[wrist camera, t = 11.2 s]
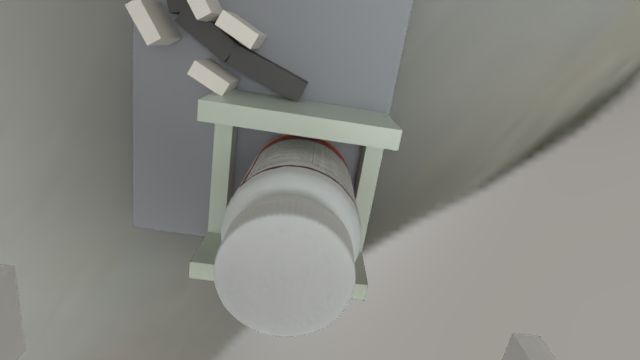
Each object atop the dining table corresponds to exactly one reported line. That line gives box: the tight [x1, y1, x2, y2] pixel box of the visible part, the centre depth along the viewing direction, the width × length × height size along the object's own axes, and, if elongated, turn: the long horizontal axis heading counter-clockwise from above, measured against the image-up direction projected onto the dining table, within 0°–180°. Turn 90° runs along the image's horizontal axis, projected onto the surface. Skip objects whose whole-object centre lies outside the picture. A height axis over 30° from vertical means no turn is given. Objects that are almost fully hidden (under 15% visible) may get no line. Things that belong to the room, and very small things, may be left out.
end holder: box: [189, 89, 403, 301], centre depth 22 cm, size 10×10×5 cm
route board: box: [125, 0, 413, 237], centre depth 22 cm, size 19×15×4 cm
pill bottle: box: [214, 134, 361, 337], centre depth 19 cm, size 6×6×11 cm
